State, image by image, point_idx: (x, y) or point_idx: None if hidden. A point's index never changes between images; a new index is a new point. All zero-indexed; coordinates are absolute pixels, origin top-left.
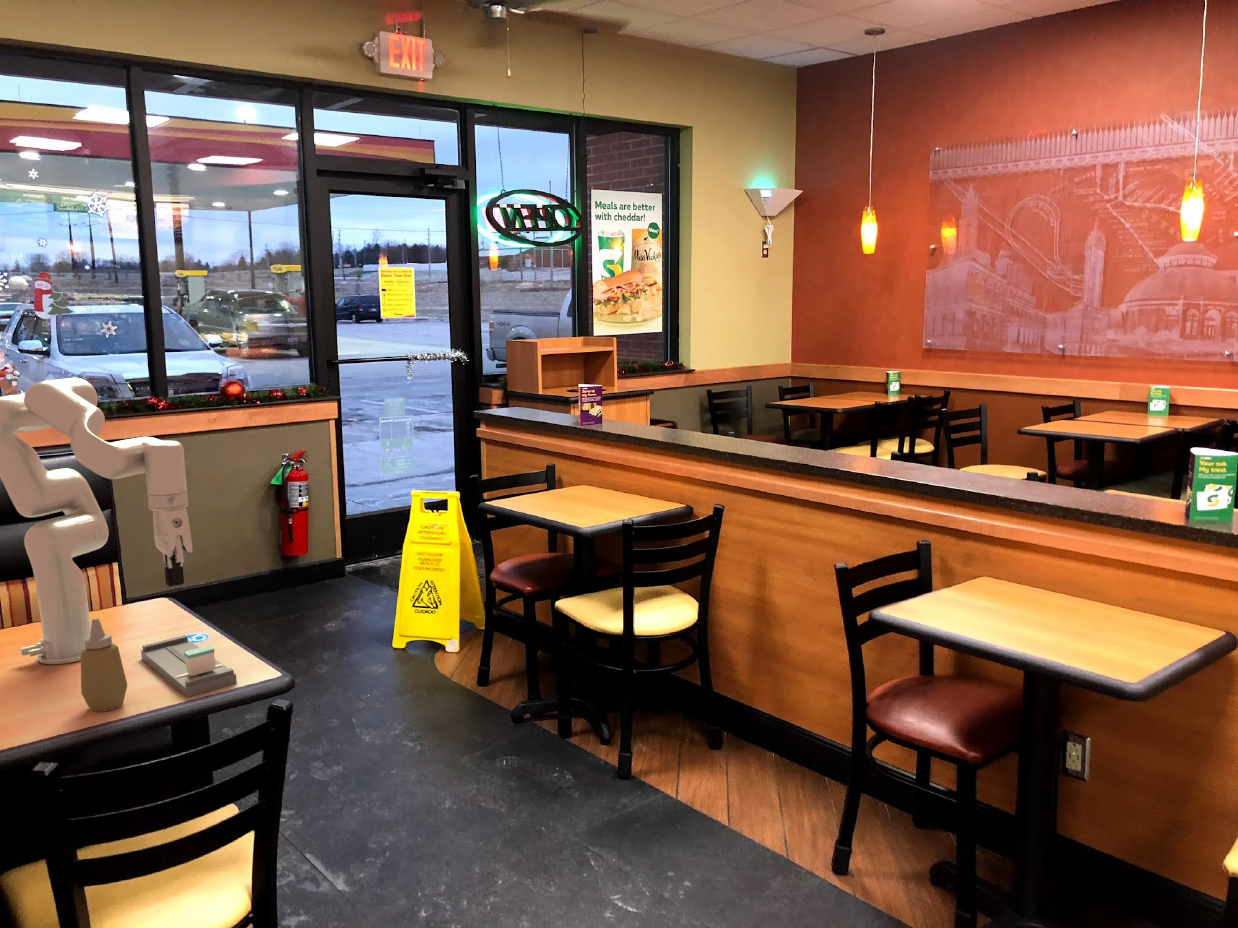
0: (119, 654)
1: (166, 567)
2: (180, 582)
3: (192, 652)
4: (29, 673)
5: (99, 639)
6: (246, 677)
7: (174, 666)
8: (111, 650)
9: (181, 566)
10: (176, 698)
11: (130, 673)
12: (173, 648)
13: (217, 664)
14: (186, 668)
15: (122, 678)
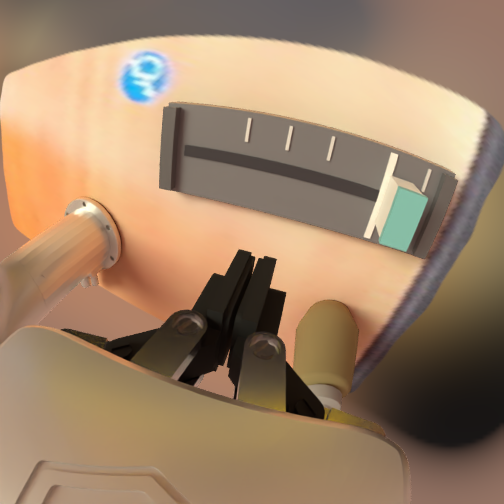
0: (342, 362)
1: (215, 366)
2: (272, 275)
3: (399, 236)
4: (126, 288)
5: None
6: (443, 140)
7: (306, 202)
8: (349, 386)
9: (278, 342)
10: (404, 258)
11: (225, 229)
12: (205, 149)
13: (380, 152)
14: (376, 225)
15: (354, 336)
